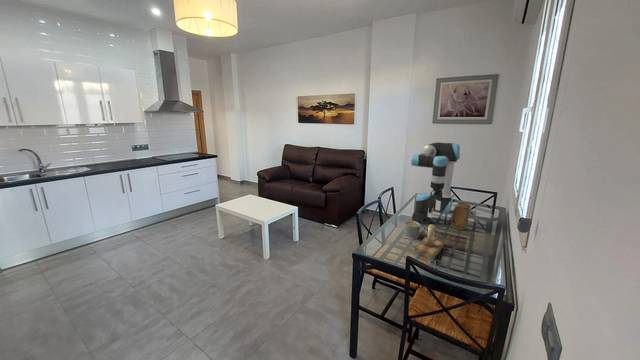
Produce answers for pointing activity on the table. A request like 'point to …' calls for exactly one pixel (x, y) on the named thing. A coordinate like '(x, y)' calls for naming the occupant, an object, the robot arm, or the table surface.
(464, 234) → the table surface
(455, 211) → the block
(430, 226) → the peg
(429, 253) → the board
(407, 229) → the coffee mug
